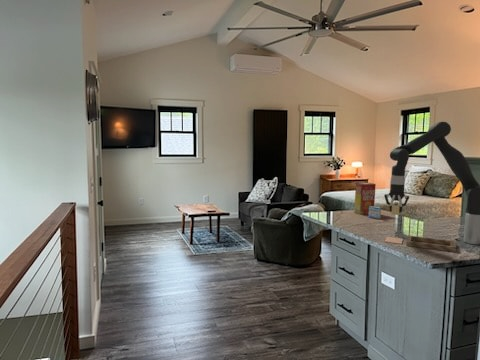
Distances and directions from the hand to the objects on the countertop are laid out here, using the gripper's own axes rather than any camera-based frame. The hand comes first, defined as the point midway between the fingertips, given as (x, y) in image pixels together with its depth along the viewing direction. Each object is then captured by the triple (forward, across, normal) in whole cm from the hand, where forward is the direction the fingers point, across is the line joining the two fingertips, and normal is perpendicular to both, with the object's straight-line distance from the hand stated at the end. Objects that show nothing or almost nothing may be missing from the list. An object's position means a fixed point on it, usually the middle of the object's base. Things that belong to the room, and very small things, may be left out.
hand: (395, 212), depth 210 cm
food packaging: (+17, +29, -80) cm, 87 cm away
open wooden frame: (+17, -19, 0) cm, 26 cm away
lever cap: (+1, 0, 0) cm, 1 cm away
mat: (+17, 0, 0) cm, 17 cm away
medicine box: (+17, +19, -65) cm, 70 cm away
